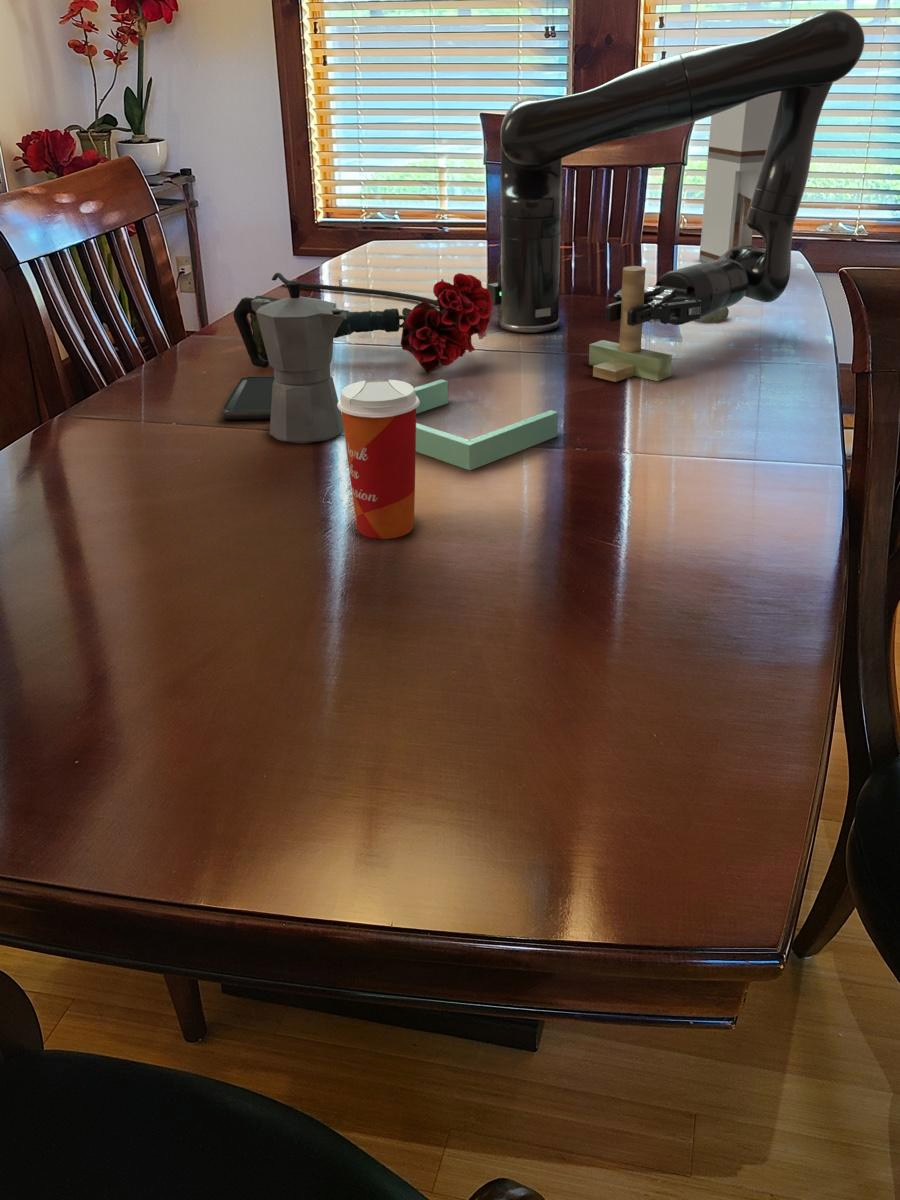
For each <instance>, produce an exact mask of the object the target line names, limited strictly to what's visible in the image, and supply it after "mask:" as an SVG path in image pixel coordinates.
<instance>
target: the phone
mask: <svg viewBox="0 0 900 1200" xmlns="http://www.w3.org/2000/svg"><path fill="white" fill-rule="evenodd" d="M274 379H275V378H274V375H249V376H244V377H241V378H240V379H239V381H238V383H237V384H236V386H235V387H234V388H233V390H232V393H231V394H230V396H229V397H228V399H227V400H226V402H225V404H224V405H223V407H222V408H221V411H222V418H223V420H225V421H249V420H251V421H252V420H253V421H254V420H270V419H271V403H272V386H273V382H274Z"/></svg>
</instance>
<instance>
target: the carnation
mask: <svg viewBox="0 0 900 1200" xmlns="http://www.w3.org/2000/svg"><path fill="white" fill-rule="evenodd" d="M452 282H453V284H452V283H450V282H447V281H444V279H443V278H441V280H440V281H437V282H436V283H435V284H434V285H433V290H432V293H433V294H434V296H435V298H437V299H434V300H435V301H438V305H439V306H438V308H439V310H438V309H437V308H436V307H435V306H434V305H432V304H429V303H427V301H426V302H419V303H418V304H417V305H415V306H414V307H413V308H412V309H411V308H407V307H403V309H402V311H401V314H400V312H399V309H398V308H385V309H384V310H383V311H382V310H375V311H373V310H371V309H369V310H367V311H365V310H363V311H358V310H357V311H350V310H347V309H346V310H345V309H341V310H342V312H345V313H346V315H347V319H345V320H343V321H342V323H341V324H340V326H339V328H338V330H337V332H336V334H335V336H334V339H338V338H341V337H344V336H350V335H352V334H353V333H370V332H374V331H384V332H386V333H395V332H399V331H400V328H402V330H401V331H402V332H401V339H400V345H401V349H402V350H404V351H407V352H408V353H410V354H411V355H412V356H413V357H414V358H415V359H416V360H417V362H418V364H419V365H420V367H421V368H422V370H423V371H424V372H425V373H430V372H431V371H434V370H435V369H436V368H438V367H439V366H440V365H441V366H444V367H447V366H450V365H452V364H453V363H454V362H455V361H456V360H458V359H459V357H460V358H463V356H464V355H465V353H466V351H468V353H472V352H474V351H475V347H474V346H473V344H472V336H473V335H477V336H478V340H480V341H481V340H483V339H484V338H487V337H488V336H487V332H486V331H487V328H489V324H490V320H491V317H492V306H493V304H492V300H491V294H490V292H489V290H488V288H485V287H483V285H482V281H481V280H480V279H478V277H476V276H474V275H472V274H464V273H460V272H459V273H456V274H454V276H453V279H452ZM253 298H254V299H268V300H270V301H271V302H274V301H277V300H281V299H279V298H276V297H271V296H264V295H261V294H260V295H256V296H254V297H253ZM249 317H250V326H251V330H252V335H253V337H254V339H255V341H256V343H257V347H258V354H259V357H260V358H261V359H267V358H268V357H267V353H266V349H265V346H264V342H263V338H262V334H261V330H260V326H259V322H258V318H257V316H256V315H253V314H250V313H249ZM400 320H403V321H402V322H401V321H400Z"/></svg>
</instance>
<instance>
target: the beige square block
mask: <svg viewBox="0 0 900 1200" xmlns="http://www.w3.org/2000/svg"><path fill="white" fill-rule="evenodd" d="M633 374H634V365H630V364H626V363H622V362H617V361H613V360H610V361H607V362H604V363H601V364H598V365H595V366H592V377H593V378H598V379H602V380H606V381H609V382H614V383H618V382H620V381H624V380H625V379H629V378H631V377H633Z"/></svg>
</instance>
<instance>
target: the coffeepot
mask: <svg viewBox="0 0 900 1200" xmlns="http://www.w3.org/2000/svg"><path fill="white" fill-rule="evenodd" d="M290 281H291V282H288V283H287V285H286V287H287V290H288V294H289V297H286V298H282V299H280V300H277V301H274V302H271V301H270V300H268V299H254V298H255V297H248V296H247V297H243V298H241V299H240V301H239V302H238V303H237V305H236V307H235V308H234V310H233V314H232V315H233V320H234V322H235V324H236V326H237V329H238V332H239V334H240V336H241V339H242V342H243V344H244V346H245V349H246V351H247V354H248V356H249V359H250V361H251V363H252V365H253V366H255V367H258V368H264V369H265V368H268V367H271V368H272V369H273V376H274V378H275V379H274V382H273V386H272V403H271V419H269V420H270V421H269V435H270V436H272V437H273V438H274V439H275V440H277V441H280V442H283V443H288V444H289V443H290V444H313V443H320V442H325V441H329V440H331V439H333V438H336V437H337V436H339V435H341V434H342V432H343V429H344V427H343V420H342V412H341V411H340V410H339V409H338V407H337V404H338V402H339V397H338V393H337V390H336V386H335V382H334V378H333V376H332V375H331V363H332V361H333V354H334V339H335V338H334V336H335V334H336V332H337V330H338V328H339V326H340V324H341V323H342V321H343V320H345V319H347V315H346V313H345V312H342V310H343V309H339V308H337V306H336V305H337V304H336V302H332V301H327V300H323V299H320V298H314V297H308V296H307V297H306V296H301V288H302V287H301V283H302V282H300V281H297V280H290ZM250 314H253V315H256V316H257V318H258V322H259V326H260V330H261V334H262V338H263V342H264V346H265V349H266V353H267V357H266V358H267V359H265V358H261V356H259V354H258V347H257V343H256V341H255V339H254V337H253V330H252V327H251V321H250V320H249V317H248V315H250Z"/></svg>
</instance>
